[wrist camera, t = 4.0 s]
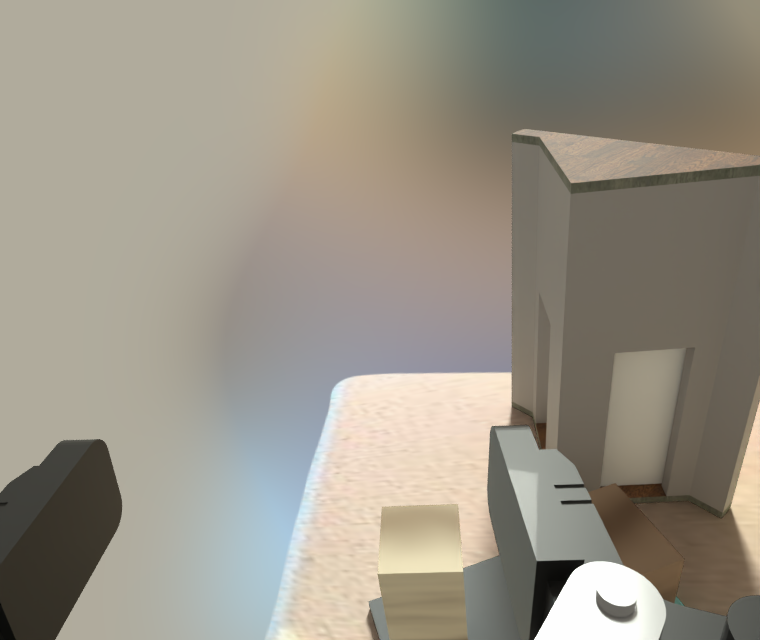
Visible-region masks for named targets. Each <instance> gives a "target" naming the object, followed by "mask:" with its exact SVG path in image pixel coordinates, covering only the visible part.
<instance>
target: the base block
mask: <svg viewBox="0 0 760 640" xmlns="http://www.w3.org/2000/svg"><path fill="white" fill-rule="evenodd" d="M588 493H589V495H590V497H591V499H592V504H594V506H595V508H596V510H597V512H598V514H599V516H600V518H601V520H602V522H603V524H604V526H605V528H606V530H607V532H608V534H609V536H610V538H611V541H612V543H613V545H614V547H615V549H616V551H617V553H618V555H619V557H620V559H621V561H622V563H623V565H624V566H625V567H628V568H630V569H632V570H634V571H636V572H638V573H639V574H641V575H642V576H644V577H645V578H646V579H647V580H648V581H650V582H651V583H652V584H653V585H654V587H655V588H656V589H657V590H658V592H659V593H660V595H661V597H662V599H664V600H667V601H669V602H672V603H674V602H675V598H676V594H677V589H678V585H679V581H680V576H681V572H682V568H683V563H684V558H683V557H682V556H681V555H680V553H679V552H678V551H677V550H676V549H675V548H674V547H673V546H672V545H671V544H670V543H669V541H668V540H667V539H666V538H665V537H664V536H663V535H662V534H661V533H660V532H659V530H658V529H657V528H656V527H655V526H654V525H653V524H652V523H651V522H650V521H649V519H648V518H647V517H646V516H645V515H644V514H643V513H642V512H641V511H640V510H639V508H638V507H637V506H636V505H635V504H634V503H633V502H632V501H631V500H630V499H629V497H628V496H627V495H626V494H625V493H624V492H623V491H622V490H621V489H620V488H619V487H618V485H617V484H616V483H614V484H611V485H608V486H605V487H602V488H599V489H596V490H593V491H590V492H588Z"/></svg>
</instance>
